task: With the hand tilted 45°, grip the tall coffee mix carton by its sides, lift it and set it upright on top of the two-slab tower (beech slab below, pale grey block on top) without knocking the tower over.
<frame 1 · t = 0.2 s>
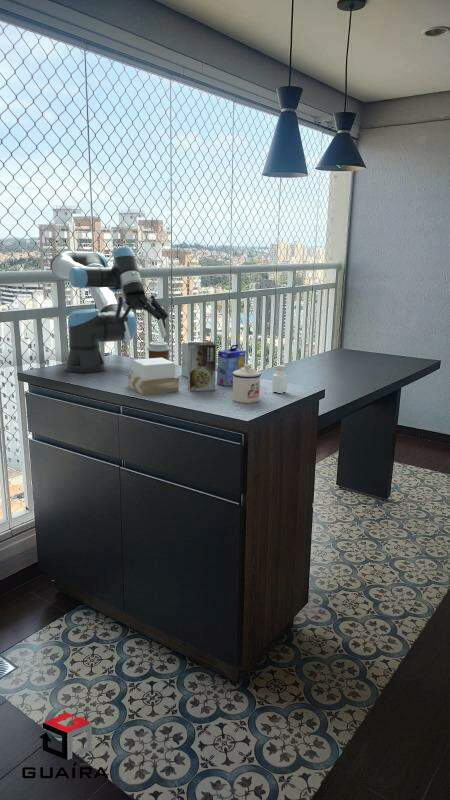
hand: (146, 338, 200), 16 cm above the table, tool tilted 35°, fingers open, 13 cm apart
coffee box: (201, 389, 194), on the table
blue upright box: (230, 383, 204), on the table
pepper shaker: (279, 393, 192), on the table
small box: (194, 376, 215), on the table
teacup with lid: (247, 399, 182), on the table
tower base: (153, 389, 193), on the table
coffee cup: (158, 374, 217), on the table
tower top: (153, 375, 191), point 5 cm above the table
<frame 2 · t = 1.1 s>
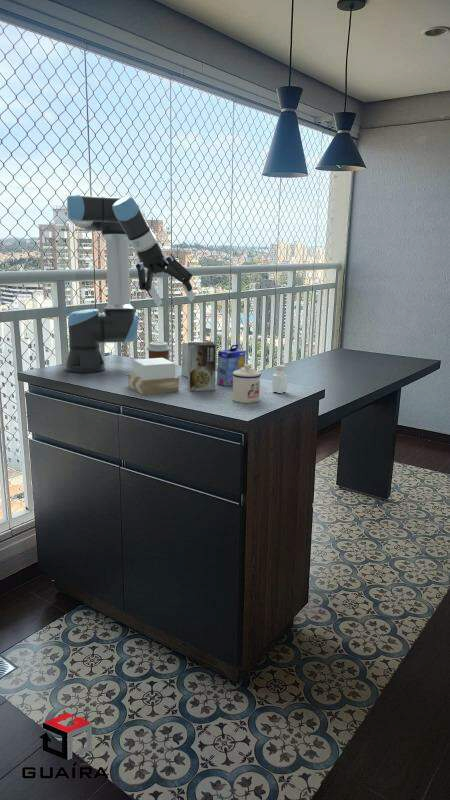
hand: (176, 301, 186), 30 cm above the table, tool tilted 35°, fingers open, 13 cm apart
tower base: (153, 389, 193), on the table, touching tower top
tower top: (153, 375, 191), point 5 cm above the table, touching tower base
everything else where it was.
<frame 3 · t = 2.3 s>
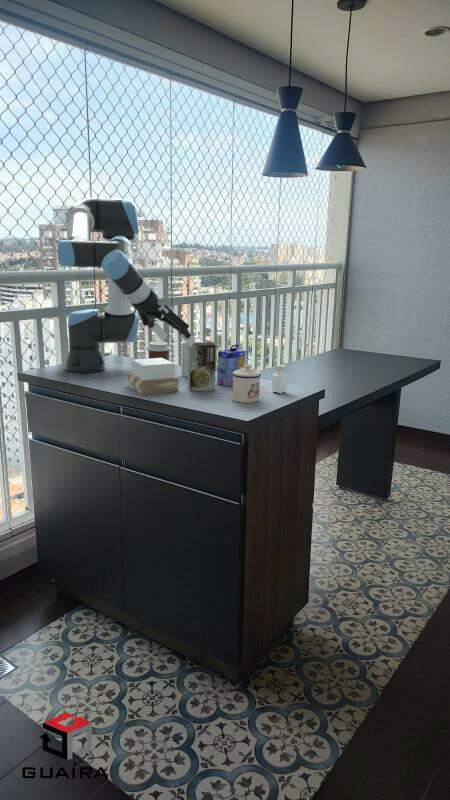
hand: (178, 340, 182), 18 cm above the table, tool tilted 45°, fingers open, 13 cm apart
tower base: (153, 389, 193), on the table
tower top: (153, 375, 191), point 5 cm above the table
everything else where it was.
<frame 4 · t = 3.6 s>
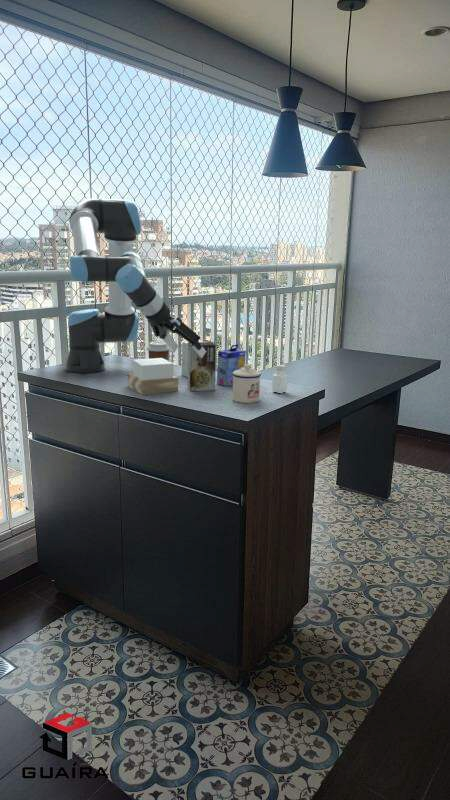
hand: (189, 351, 186), 14 cm above the table, tool tilted 45°, fingers open, 13 cm apart
nothing on the table moved.
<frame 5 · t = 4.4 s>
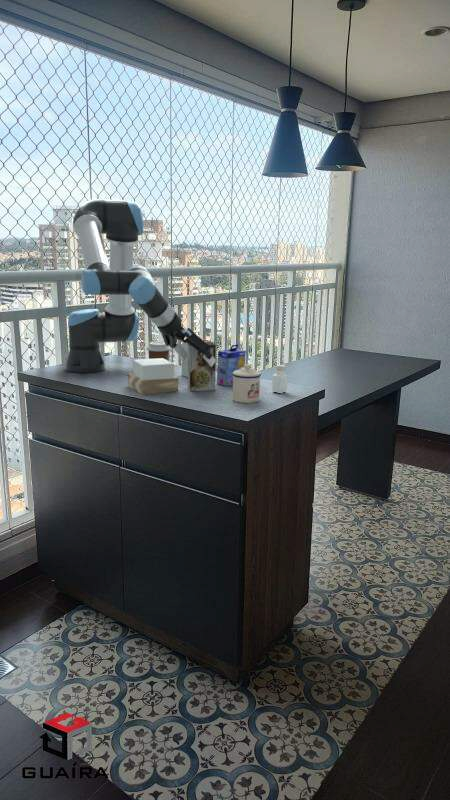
hand: (199, 360, 190), 10 cm above the table, tool tilted 45°, fingers open, 13 cm apart
tower base: (152, 389, 193), on the table, touching tower top
tower top: (153, 376, 191), point 4 cm above the table, touching tower base
everything else where it was.
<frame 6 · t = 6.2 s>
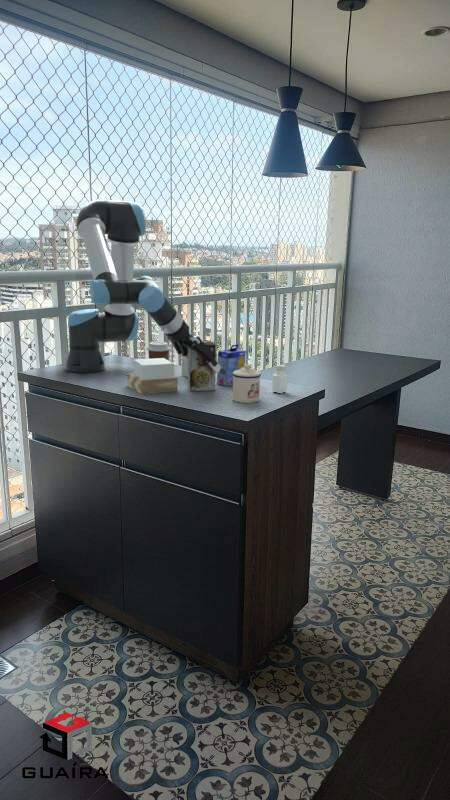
hand: (207, 367, 195), 7 cm above the table, tool tilted 45°, fingers closed on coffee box, 10 cm apart
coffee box: (201, 389, 194), on the table, touching gripper
everything else where it was.
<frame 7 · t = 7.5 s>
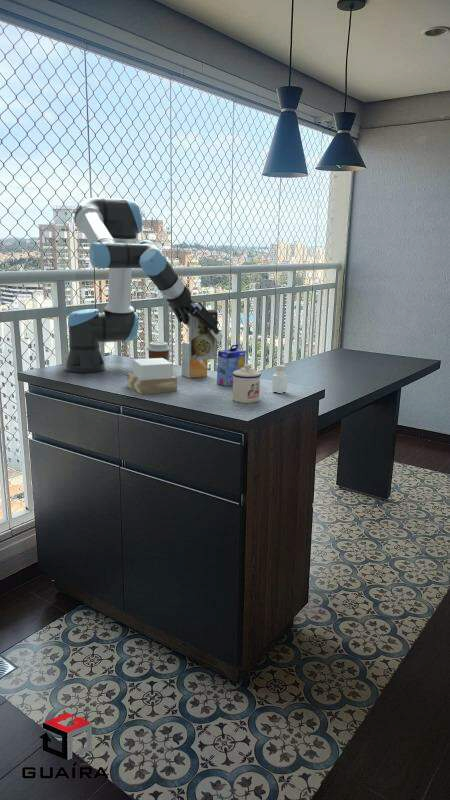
hand: (209, 336, 191), 18 cm above the table, tool tilted 45°, fingers closed on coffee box, 10 cm apart
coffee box: (202, 358, 191), point 11 cm above the table, touching gripper
when the fingers open (18 cm above the table, at t = 13.5 s): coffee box drops 2 cm, resting on tower top.
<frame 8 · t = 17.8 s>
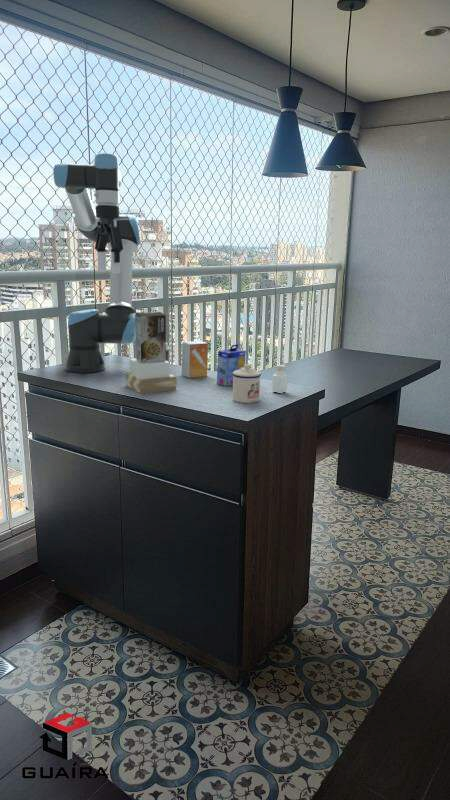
hand: (109, 272, 186), 39 cm above the table, tool pointing down, fingers open, 13 cm apart
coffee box: (150, 360, 192), point 9 cm above the table, touching tower top
tower base: (151, 388, 194), on the table, touching tower top
tower top: (149, 374, 193), point 4 cm above the table, touching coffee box, tower base
everything else where it was.
at the end: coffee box inside the target area on the tower top (0.6 cm from its centre), point 5.0 cm above the tower top's base; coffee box tilted 3°; tower top moved 2.6 cm from its start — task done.
